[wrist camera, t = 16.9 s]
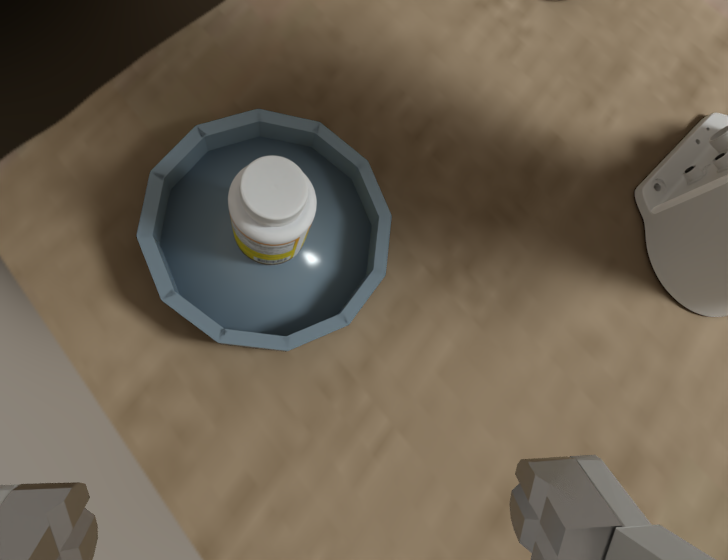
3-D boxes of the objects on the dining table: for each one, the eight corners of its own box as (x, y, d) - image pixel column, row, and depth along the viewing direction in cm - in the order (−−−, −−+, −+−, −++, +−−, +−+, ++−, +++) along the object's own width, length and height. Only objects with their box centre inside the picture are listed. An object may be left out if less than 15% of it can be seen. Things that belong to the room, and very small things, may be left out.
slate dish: (253, 92, 39) (253, 67, 36) (417, 224, 41) (431, 212, 37) (98, 252, 35) (81, 240, 31) (290, 395, 36) (293, 399, 32)
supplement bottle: (273, 186, 37) (280, 123, 28) (319, 238, 37) (341, 195, 28) (217, 227, 36) (203, 177, 26) (265, 281, 36) (269, 252, 26)
